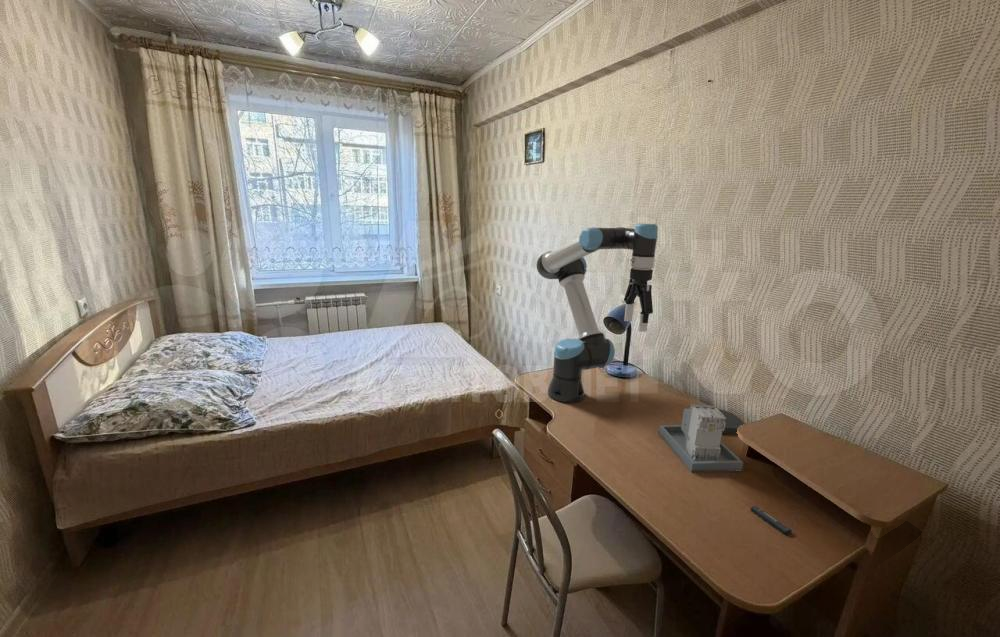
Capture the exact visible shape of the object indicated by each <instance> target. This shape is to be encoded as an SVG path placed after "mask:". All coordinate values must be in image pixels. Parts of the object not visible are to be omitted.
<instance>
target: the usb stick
mask: <svg viewBox="0 0 1000 637" xmlns="http://www.w3.org/2000/svg"><path fill="white" fill-rule="evenodd" d="M750 509H751V510H750V511H751V512H752V513H753V512H754V513H755V515H756V514H757V515H758V516H757V515H756V516H757V517H759V518H760V517H761V518H762V520H763V519H764V520H765V521H764V520H763V521H764V522H765V523H767V522H768V523H767V524H769V525H770V526H771V525H772V528H775V529H776V530H777V531H778V530H779V533H781V532H782V533H781V534H783V535H784V536H789V535H791V534H790V533H792V532H793V531H792V529H791V528H790V527H788V526H786V525H785V524H784V523H782V522H780V521H779V520H778V519H776V518H775V517H773V516H772V515H770V514H769V513H768V512H766V511H765V510H763V509H762V508H761V507H759V506H757V505H754V506H751V507H750ZM754 513H753V514H754ZM761 518H760V519H761Z"/></svg>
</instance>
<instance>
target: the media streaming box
mask: <svg viewBox="0 0 1000 637" xmlns="http://www.w3.org/2000/svg"><path fill="white" fill-rule="evenodd" d="M717 409H718V410H719V411H720V412H721V413H722V414H723V415H724V417H726V419H725V420H724V422H725V429H724V431H722V434H723V435H735V434H736V432H737V428H738V427H739V426H740V425H743V424H745V423H744V421H742V419H740V418H739V417H738V416H737V415H736V414H734V413H732V412H730V411H727V410H724V409H720V408H717ZM722 427H723V426H722ZM736 435H737V434H736Z"/></svg>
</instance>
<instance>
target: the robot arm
mask: <svg viewBox="0 0 1000 637" xmlns="http://www.w3.org/2000/svg"><path fill="white" fill-rule="evenodd" d="M658 230H659V227H658V225H657V224H655V223H644V222H643V223H640V222H639V223H636V224H635V228H631V227H630V228H629V227H625V226H624V227H593V226H592V227H587V228H584V229H583V230H582V231H581V232H580V234H579V236H578V237H576V238H575V239H573V240H571V241H569V242H567V243H565V244H564V245H562V246H560V247H558V248H557V249H554V250H547V251H546V252H544V253H543V254H541V255H540V256H539V257H538V258H537V261H536V270H537V272H538V274H539V275H540V276H541V277H543V278H544V279H547V280H558V283H559V286H561V287H563V288H564V290H565V294H566V298H567V301H568V303H569V307H570V311H571V313H572V317H573V320H574V322H575V324H574V325H575V327H576V330H577V333H578V338H565V339H561V340H559V341H558V342H557V343H556V344H555V346H554V353H553V370H552V372H553V373H552V378H551V380H550V383H549V384H548V387H547V395H548V397H549V396H550V397H549V398H550V399H552V398H553V399H552V400H554V399H555V400H554V401H557V400H558V401H557V402H560V401H563V402H562V403H566V402H573V403H578V402H581V401H582V400H583V399H584V398H585V390H584V385H583V381H582V373H583V371H586V370H592V369H598V368H599V369H602V368H603V367H607V366H610V365H611V363H612V362H613V361H614V358H615V351H616V350H615V346H614V344H613V342H612V340H611V339H610V338H606V337H605V334H604V332H602V331H600V330H599V327H598V324H597V321H596V318H595V315H594V312H593V308H592V306H591V302H590V300H589V296H588V294H587V291H586V288H585V284H584V279H586V273H587V268H588V267H587V265H588V264H587V261H586V259H585V258H584V257H586V256H588V255H590V254H593V253H595V252H597V251H598V250H599V251H600V250H621V249H622V250H631V251H632V253H631V259H630V262H631V263H630V266H631V268H630V271H629V280H628V286H627V289H626V292H625V294H624V297H623V301H624V302H625V310H624V318H623V319H624V320H623V321H624V322H633V315H634V306H635V300H636V298H637V297H638V299H639V303H640V308H641V311H640V313H639V314H640V317H639V323H638V332H640V333H641V332H646V333H647V332H648V327H649V326H648V324H649V319H650V318H649V316H650V314H653V313H654V308H653V307H654V306H653V298H652V285H651V284H648V282H649V281H652V280H653V269H654V267H655V266H654V264H655V257H656V248H657V242H658V232H659V231H658ZM580 400H581V401H580ZM577 401H578V402H577Z"/></svg>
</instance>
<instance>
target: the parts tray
mask: <svg viewBox="0 0 1000 637" xmlns="http://www.w3.org/2000/svg"><path fill="white" fill-rule="evenodd" d="M658 435H659V436H660V437H661V439H662V440H664V442H665V443H666V444H667V445H668V446H669V448H670V449H671V450H672V452H674V454H675V455H676V456H677V457H678V458H679V459H680V461H681V462H682V463H683V465H685V467H686V468H687V469H688V470H689V471H690V473H705V472H706V473H710V472H711V473H713V472H714V473H715V472H717V473H718V472H739V471H738V470H742V471H743V466H744V461H742V460H741V458H739V456H737V455H736V454H735V453H734V452H733V451H732V450H731V449H729V447H728V446H727V445H725V443H723V442H722V440H721V441H720V446H719V447H720V448H721V450H720V455H719V457H718V458H717V460H718V461H700V460H693V458H692V457H691V456H690V454H689V452H688V451H687V449H686V448H685V446H684V442H685V440H686V439H685V436H686V435H685V434H684V432H683V431H682V429H681V424H671V425H667V424H664V425H659V427H658ZM717 454H718V453H717ZM696 459H697V457H696ZM709 460H710V459H709ZM713 460H714V459H713ZM736 470H737V471H736Z"/></svg>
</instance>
